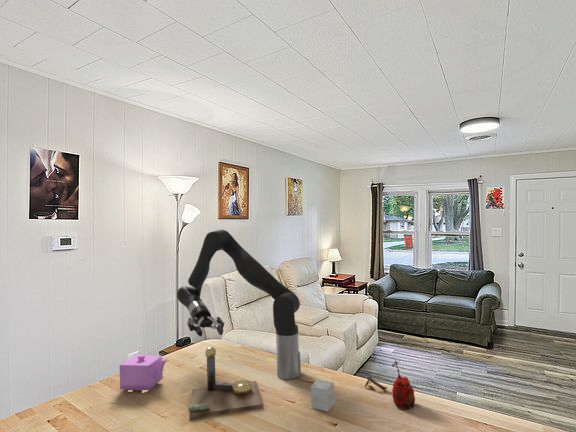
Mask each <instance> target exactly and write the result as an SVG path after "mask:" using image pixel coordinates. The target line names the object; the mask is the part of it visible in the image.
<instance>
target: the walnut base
mask: <svg viewBox="0 0 576 432" xmlns="http://www.w3.org/2000/svg"><path fill="white" fill-rule="evenodd" d="M251 383H252V391H251V392H250V393H249V394H247V395H242V396H239V395H235V394H233V392H232V391H231V390H217V389H215V390H208V387H207V386H206V387H199V388H193V389H191V395H190V396H191V398H190V403H189V406H188V412H189V413H188V415H189V417H188V419H189V420H196V419H201V418H209V417H215V416H222V415H229V414H235V413H241V412H242V413H243V412H247V411H248V412H249V411H256V410H261V409H264V402H263V400H262V395H261V393H260V390H259V386H258V383H257V380H253V381H251Z"/></svg>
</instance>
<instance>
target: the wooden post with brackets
mask: <svg viewBox="0 0 576 432" xmlns="http://www.w3.org/2000/svg"><path fill="white" fill-rule="evenodd" d="M365 378H366V380H367V381H366V382H365V385H364V387H365V388H367V386H368V387H369V389H370V390H373V391H375V387H374V386H376V387H378V388H379V389H381V390H382V391H383V393H386V392H387V389H388V386H384V385H382V384H380V382H378V381H376V380H374V379H373V378H372V376H368V375H366V376H365ZM371 383H372V384H373V385H374V386H372V385H371Z"/></svg>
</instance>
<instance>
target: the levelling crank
mask: <svg viewBox="0 0 576 432" xmlns="http://www.w3.org/2000/svg"><path fill="white" fill-rule="evenodd" d="M204 351H205V352H204V353H205V357H206V376H207V377H206V379H207V380H206V381H207V384H206V385H207V386H206V387H208V390H215V389H217V390H231V391H232V392H233V394H235V395H239V396H242V395H247V394H249V393H250V392H251V391H252V383H251V382H252V381H251V380H248V379H239V380H236V381H234V382H222V381H216V378H217V377H216V354H217V350H216V348H215V347H213V346H209V347H207V348H206V349H205V350H204Z"/></svg>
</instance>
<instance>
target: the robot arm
mask: <svg viewBox="0 0 576 432" xmlns="http://www.w3.org/2000/svg"><path fill="white" fill-rule="evenodd" d="M219 251H223V252H225V253H226V254H227V255H228V257H230V258H231V259H232V261H233V262H234V263H233V264H234V266H235V268H236V271H237V272H238V274H239V275H240V276H241V277H242V278H243V279H244V280H245V281H246V282H247V283H248V284H249V285H251V286H253V287H254V288H257V289H259V290H261V291H263V293H264V292H265V294H268V295H269V296H270V297H271V298H272V299H273V304H272V316H273V326H274V329H275V338H276V339H275V340H276V341H275V343H276V345H275V346H276V372H277V374H276V375H277V378H279V379H282V380H295V379H297V378H299V377H302V370H301V369H302V368H301V367H302V366H301V365H302V364H301V363H302V361H301V352H300V349H299V348H300V347H299V346H300V345H299V326H298V324H297V323H296V320H295V318H296V317H295V313H296V312H298V310H299V309H300V305H301V301H300V299H299V297H298V296H297V294H295V293H294V292H293V291H292V290H290V289H289V288H287V287H286V286H285V285H283V284H282V283H281V282H280V281H279V280H278V279H276V277H274V275H273V274H271V273H270V272H269V271H268V269H266V268H265V267H264V266H263V265H262V264H261V263H260V262H258V260H257V259H255V258H254V257H253V256H252V255H251V254H250V253H249V252H248V251H247V250H245V249H244V248H243V247H242V246H241V245H240V244H239V242H238V241H237V240H236V239H235V238H234V237H233V236H232V234H230V232H229V231H227V230H225V229H216V230H215V229H214V230H211V231H209V232H207V233H206V235H205V237H204V240H203V243H202V247H201V248H200V252H199V256H198V259H197V260H196V263H195V266H194V268H193V270H192V271H191V272H190V275H189V277H188V280H187V283H188V284H189V286H185V285H183V286H181V287H179V288H178V290H177V292H176V297H177V300H178V301H179V303H181V304H182V305H183V306H184V307H186V309H187V311H188V313H189V315H190V317H188V320H187V323H186V324H187V327H188V329H189V331H190V332H193V331H194V332H196V334H197V336H199V337H202V336H203V330H202V329H204V328H210V329H212V330H214V329H215V330H216V332H217V333H218V335H219V336H222V335H223V333H224V327H225V322H224V320H222V318H221V317H220V316H217V317H216V318H214V317H213V316H212V314H211V311H210V310H209V309H208V308H209V307H207V305H206V304H205V303H204V301H203V300H202V299H201V294H202V293H201V292H202V288H203V286H204V285H203V284H204V283H205V281H206V279H207V277H208V275H209V274H210V267H211V266H210V265H211V260H212V259H213V257H214V255H215V254H216V253H217V252H219Z"/></svg>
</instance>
